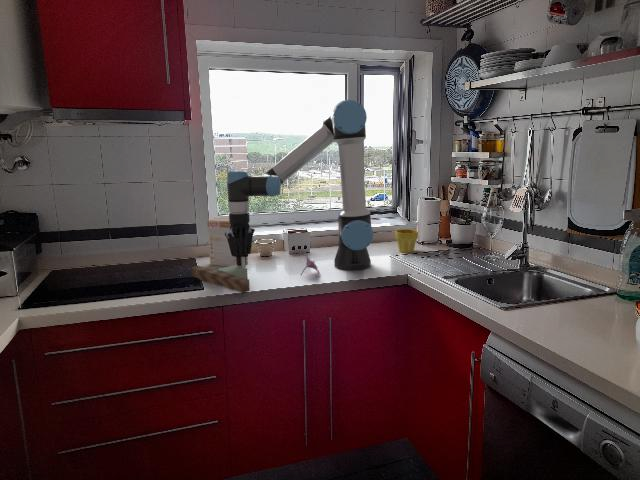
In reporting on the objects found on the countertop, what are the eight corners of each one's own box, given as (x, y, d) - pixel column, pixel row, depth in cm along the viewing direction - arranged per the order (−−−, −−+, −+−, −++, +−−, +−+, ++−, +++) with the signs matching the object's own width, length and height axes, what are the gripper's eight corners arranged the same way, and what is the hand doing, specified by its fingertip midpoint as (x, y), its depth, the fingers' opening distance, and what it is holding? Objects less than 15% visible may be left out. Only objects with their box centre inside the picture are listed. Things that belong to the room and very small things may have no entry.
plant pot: (400, 254, 204) (401, 233, 202) (391, 249, 214) (391, 229, 212) (421, 253, 207) (422, 232, 205) (411, 248, 217) (412, 228, 215)
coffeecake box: (248, 263, 192) (246, 218, 188) (240, 267, 185) (237, 221, 181) (219, 261, 197) (216, 217, 193) (209, 264, 191) (206, 219, 187)
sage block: (247, 279, 170) (247, 268, 169) (231, 284, 164) (230, 273, 163) (234, 276, 175) (233, 265, 174) (217, 280, 169) (216, 269, 168)
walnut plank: (249, 290, 156) (249, 279, 155) (242, 292, 154) (242, 281, 153) (198, 275, 175) (197, 265, 174) (191, 277, 173) (190, 267, 172)
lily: (314, 283, 167) (326, 260, 167) (287, 269, 169) (298, 246, 169) (319, 284, 178) (330, 262, 179) (294, 271, 181) (304, 249, 181)
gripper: (245, 209, 175) (248, 268, 180) (218, 213, 165) (222, 275, 170) (258, 211, 170) (261, 271, 175) (231, 215, 160) (235, 278, 165)
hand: (242, 273), depth 172 cm, fingers closed
